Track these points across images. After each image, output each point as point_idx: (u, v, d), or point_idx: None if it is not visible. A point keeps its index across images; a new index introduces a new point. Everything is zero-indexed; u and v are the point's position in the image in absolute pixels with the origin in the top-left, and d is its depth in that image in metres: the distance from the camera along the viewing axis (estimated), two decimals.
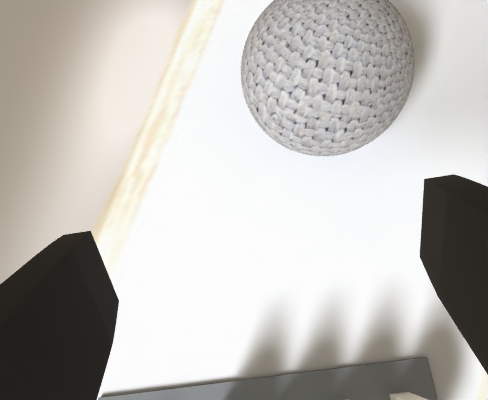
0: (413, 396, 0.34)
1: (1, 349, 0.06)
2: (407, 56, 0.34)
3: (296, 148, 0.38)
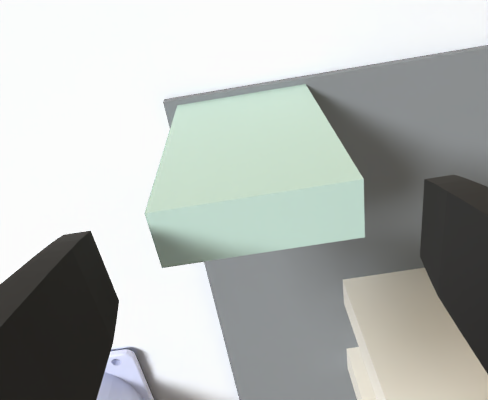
0: None
1: (1, 349, 0.06)
2: None
3: None
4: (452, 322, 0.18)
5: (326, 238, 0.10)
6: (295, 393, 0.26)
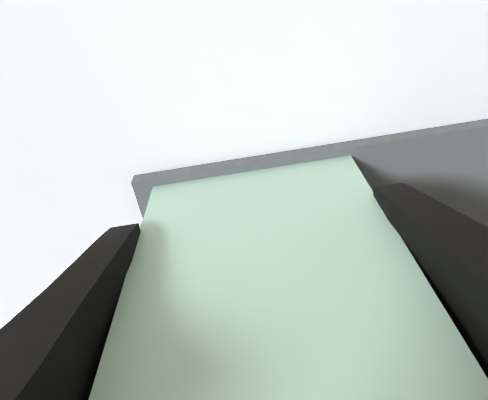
0: None
1: (73, 339, 0.06)
2: None
3: None
4: None
5: None
6: None
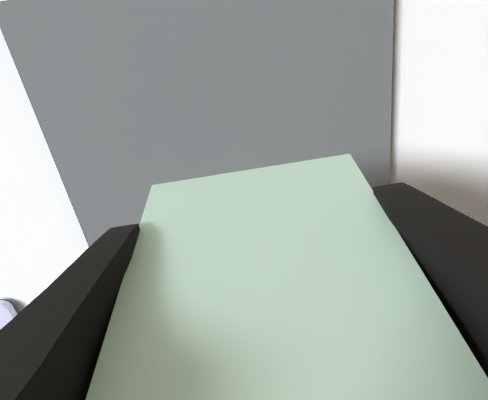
0: None
1: (73, 338, 0.06)
2: None
3: None
4: None
5: None
6: None
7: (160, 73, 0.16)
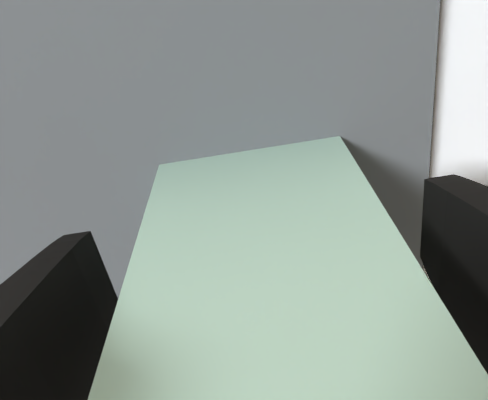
0: None
1: (1, 349, 0.06)
2: None
3: None
4: None
5: None
6: None
7: (90, 106, 0.11)
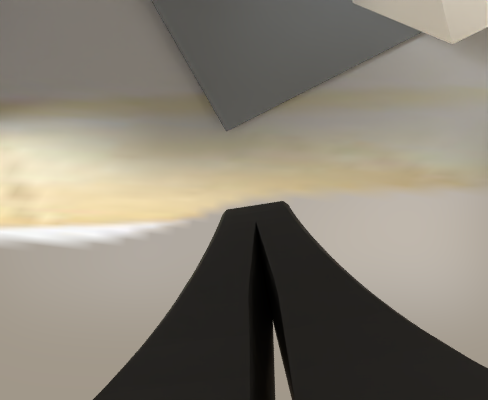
0: None
1: (252, 313, 0.06)
2: None
3: None
4: None
5: None
6: None
7: None
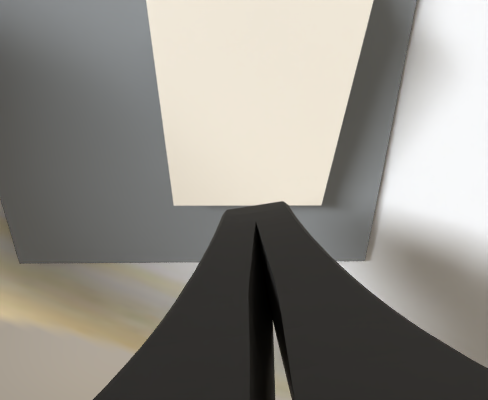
0: None
1: (252, 313, 0.06)
2: None
3: None
4: None
5: None
6: None
7: None
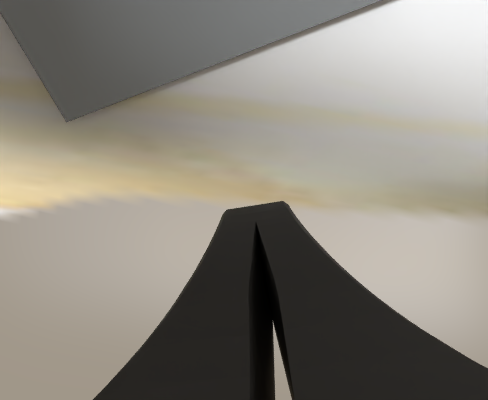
0: None
1: (251, 313, 0.06)
2: None
3: None
4: None
5: None
6: None
7: None
